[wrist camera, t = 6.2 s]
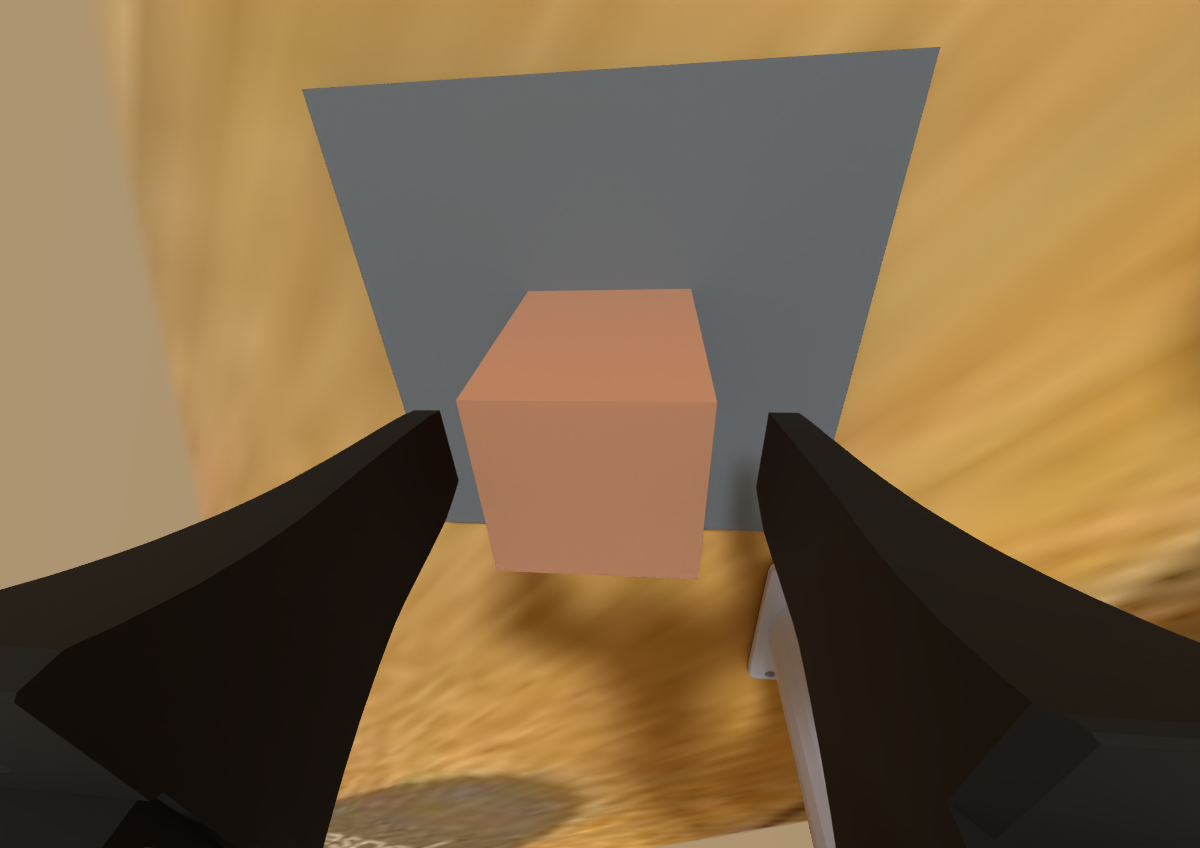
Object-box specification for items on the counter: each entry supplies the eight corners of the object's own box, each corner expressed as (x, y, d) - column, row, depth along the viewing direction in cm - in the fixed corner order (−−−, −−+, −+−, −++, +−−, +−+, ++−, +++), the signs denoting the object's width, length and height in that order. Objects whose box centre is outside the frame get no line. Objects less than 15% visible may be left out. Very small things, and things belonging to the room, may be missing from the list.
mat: (925, 50, 10) (940, 47, 10) (804, 520, 18) (808, 532, 17) (316, 90, 12) (302, 89, 11) (446, 511, 19) (440, 522, 19)
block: (690, 288, 13) (717, 402, 8) (682, 426, 15) (698, 579, 10) (528, 291, 13) (455, 400, 8) (545, 425, 16) (497, 570, 11)
